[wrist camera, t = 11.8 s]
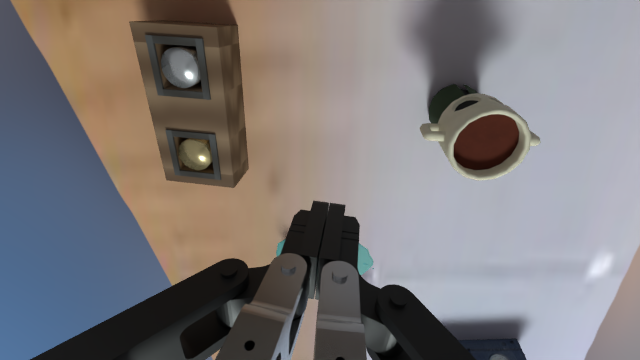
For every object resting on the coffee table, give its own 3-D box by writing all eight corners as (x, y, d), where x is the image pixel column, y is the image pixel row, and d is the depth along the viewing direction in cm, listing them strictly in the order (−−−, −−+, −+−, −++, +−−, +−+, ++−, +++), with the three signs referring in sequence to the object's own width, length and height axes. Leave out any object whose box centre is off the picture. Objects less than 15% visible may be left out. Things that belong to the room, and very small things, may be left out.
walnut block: (161, 20, 38) (127, 21, 32) (237, 25, 37) (215, 27, 32) (187, 162, 48) (165, 181, 42) (248, 168, 47) (233, 188, 41)
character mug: (506, 80, 36) (569, 111, 25) (489, 136, 40) (538, 185, 28) (413, 78, 37) (434, 105, 26) (405, 132, 41) (420, 177, 30)
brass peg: (196, 124, 44) (175, 138, 39) (225, 127, 43) (207, 141, 38) (200, 152, 46) (181, 168, 41) (228, 155, 45) (212, 171, 41)
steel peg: (182, 42, 38) (157, 46, 33) (215, 44, 38) (194, 49, 33) (188, 77, 40) (165, 86, 36) (219, 80, 40) (200, 89, 35)
